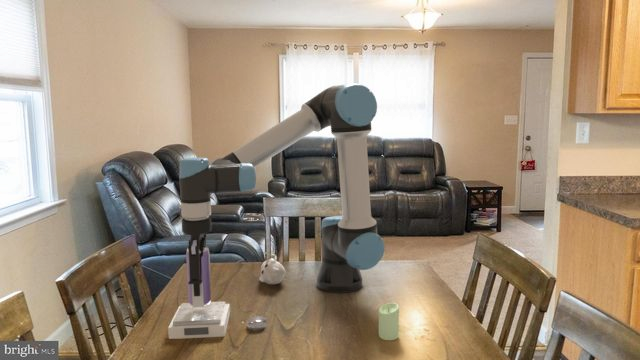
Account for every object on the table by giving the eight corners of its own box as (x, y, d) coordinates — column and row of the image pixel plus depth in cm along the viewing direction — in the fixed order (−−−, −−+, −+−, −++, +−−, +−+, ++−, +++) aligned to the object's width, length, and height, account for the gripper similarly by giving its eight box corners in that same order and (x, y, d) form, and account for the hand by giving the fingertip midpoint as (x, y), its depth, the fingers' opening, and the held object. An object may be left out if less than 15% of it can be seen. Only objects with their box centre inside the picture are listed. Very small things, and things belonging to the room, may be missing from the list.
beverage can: (205, 308, 125) (203, 252, 123) (184, 306, 126) (181, 251, 124) (215, 299, 131) (212, 246, 129) (194, 297, 132) (192, 245, 130)
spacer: (266, 322, 132) (266, 315, 131) (266, 331, 127) (265, 323, 126) (247, 323, 131) (247, 316, 131) (246, 332, 126) (246, 324, 126)
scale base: (230, 313, 137) (229, 303, 137) (224, 336, 123) (224, 325, 123) (179, 315, 136) (179, 305, 136) (168, 339, 122) (167, 328, 122)
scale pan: (225, 304, 136) (225, 301, 135) (220, 323, 124) (220, 319, 124) (182, 306, 135) (182, 303, 134) (173, 325, 123) (172, 321, 123)
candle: (385, 342, 120) (385, 310, 119) (375, 333, 124) (375, 303, 123) (402, 338, 122) (402, 307, 121) (391, 330, 126) (392, 300, 125)
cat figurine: (267, 248, 169) (271, 256, 154) (287, 259, 170) (293, 267, 156) (254, 272, 168) (256, 282, 154) (274, 283, 170) (278, 294, 155)
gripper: (188, 210, 134) (192, 289, 138) (173, 226, 116) (178, 317, 119) (215, 209, 135) (218, 288, 138) (205, 225, 116) (209, 315, 120)
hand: (200, 301), depth 129 cm, fingers closed on beverage can, 6 cm apart
